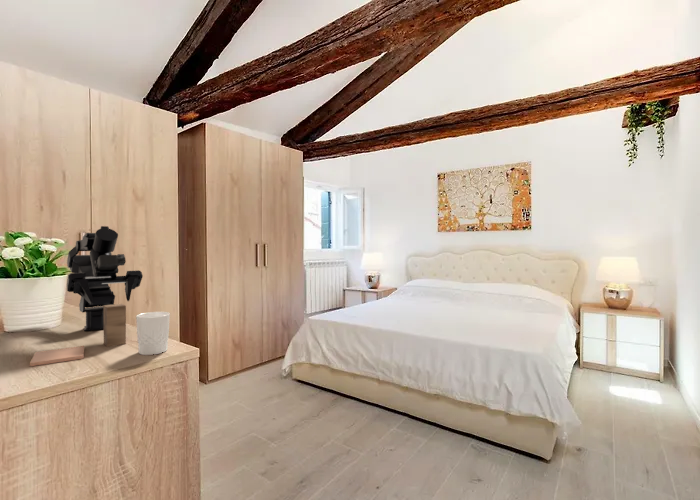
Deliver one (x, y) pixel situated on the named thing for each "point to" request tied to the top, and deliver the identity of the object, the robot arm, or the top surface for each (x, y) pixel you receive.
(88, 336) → the top surface
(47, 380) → the top surface
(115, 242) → the robot arm
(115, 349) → the top surface
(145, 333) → the white cup
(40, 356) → the terracotta tile
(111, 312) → the walnut block
